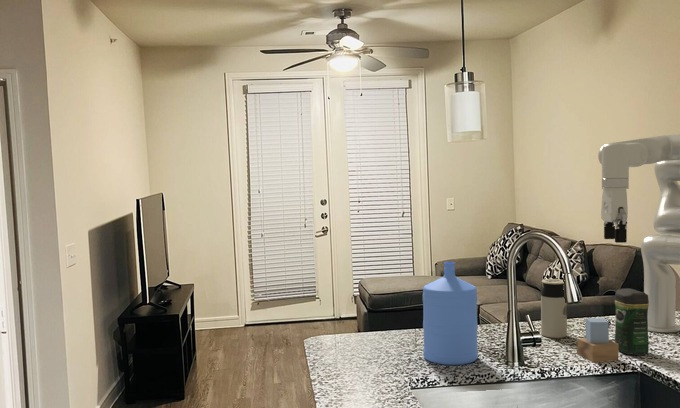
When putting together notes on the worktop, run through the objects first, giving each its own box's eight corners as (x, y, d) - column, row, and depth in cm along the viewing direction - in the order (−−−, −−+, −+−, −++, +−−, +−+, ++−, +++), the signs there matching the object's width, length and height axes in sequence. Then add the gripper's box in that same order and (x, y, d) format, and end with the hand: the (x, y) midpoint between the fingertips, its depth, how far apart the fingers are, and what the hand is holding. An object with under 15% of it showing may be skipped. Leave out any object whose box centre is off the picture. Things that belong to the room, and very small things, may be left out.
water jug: (486, 363, 186) (485, 265, 184) (432, 367, 183) (431, 267, 182) (466, 349, 201) (465, 258, 200) (416, 352, 198) (415, 260, 197)
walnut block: (577, 355, 193) (577, 338, 193) (602, 353, 195) (602, 336, 194) (592, 363, 185) (592, 345, 185) (618, 361, 187) (618, 343, 186)
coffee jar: (653, 355, 191) (654, 291, 190) (627, 356, 190) (628, 292, 189) (634, 346, 200) (635, 286, 199) (610, 348, 199) (610, 287, 198)
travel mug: (536, 335, 216) (536, 280, 215) (549, 331, 221) (549, 277, 220) (558, 339, 210) (558, 283, 209) (571, 335, 215) (571, 280, 214)
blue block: (603, 338, 192) (603, 318, 192) (608, 343, 187) (608, 322, 187) (585, 338, 193) (585, 318, 192) (590, 343, 188) (590, 322, 187)
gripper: (593, 183, 208) (593, 238, 209) (612, 185, 191) (612, 244, 191) (617, 183, 207) (617, 237, 208) (638, 184, 190) (638, 243, 191)
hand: (615, 240), depth 200 cm, fingers open, 9 cm apart
